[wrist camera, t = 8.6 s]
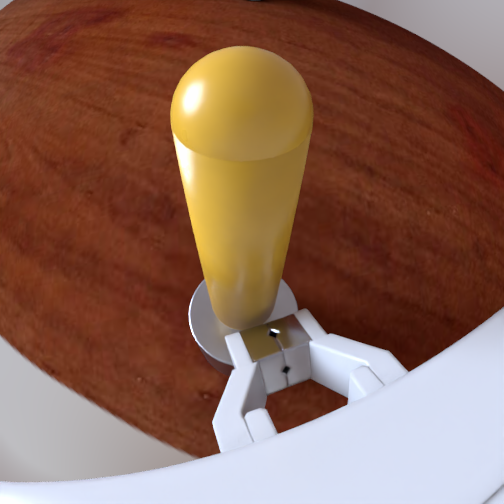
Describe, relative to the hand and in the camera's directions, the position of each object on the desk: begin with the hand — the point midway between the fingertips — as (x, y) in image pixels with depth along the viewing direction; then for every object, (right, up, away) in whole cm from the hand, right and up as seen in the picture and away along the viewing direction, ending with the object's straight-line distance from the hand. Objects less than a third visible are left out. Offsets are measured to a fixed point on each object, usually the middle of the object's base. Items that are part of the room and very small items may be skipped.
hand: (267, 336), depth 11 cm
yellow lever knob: (-1, -1, +5) cm, 5 cm away
